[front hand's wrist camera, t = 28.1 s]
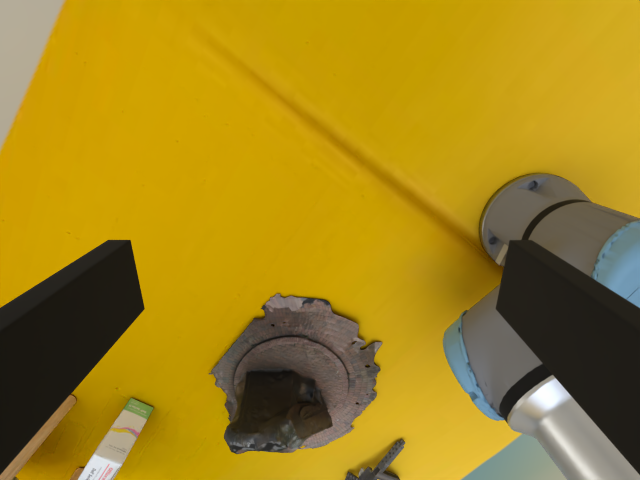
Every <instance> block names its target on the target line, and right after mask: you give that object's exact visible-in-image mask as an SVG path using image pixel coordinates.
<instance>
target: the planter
mask: <svg viewBox="0 0 640 480" xmlns="http://www.w3.org/2000/svg"><path fill="white" fill-rule="evenodd" d="M75 403H76V398H75V397H74V396H72V395H69V397H68V398H67V399H66V400H65V401H64V402H63V403H62V405H61V406H60V407H59V408H58V409H57V410H56V412H55V413H54V414H53V415H52V416H51V417H50V418H49V420H48V421H47V422H46V423H45V424H44V425H43V426H42V428H41V429H40V430H39V431H38V432H37V433H36V435H35V436H34V437H33V438H32V439H31V440H30V441H29V443H28V444H27V445H26V446H25V447H24V448H23V450H22V451H21V452H20V453H19V454H18V455H17V456H16V458H15V459H14V460H13V461H12V462H11V463H10V465H9V466H8V467H7V468H6V469H5V470H4V471H3V473H2V474H1V475H0V480H18V479H17V478H16V477H15V476H16V474H17V473H18V472H19V471H20V470H21V468H22V467H23V466H24V465H25V464H26V462H27V461H28V460H29V459H30V457H31V456H32V455H33V454H34V453H35V451H36V450H37V449H38V448H39V447H40V445H41V444H42V443H43V442H44V441H45V439H46V438H47V437H48V436H49V434H50V433H51V432H52V431H53V430H54V428H55V427H56V426H57V425H58V424H59V422H60V421H61V420H62V419H63V418H64V416H65V415H66V414H67V413H68V411H69V410H70V409H71V408H72V407H73V405H74V404H75ZM83 470H84V468H78V469H76V471H75V472H74V474H73V475H72V477H71V478H70V480H78V478H79V476H80V475H81V473H82V471H83Z"/></svg>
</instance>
